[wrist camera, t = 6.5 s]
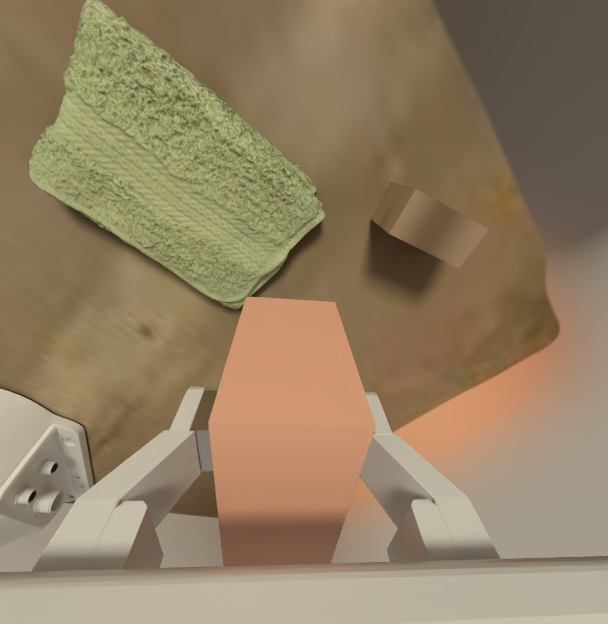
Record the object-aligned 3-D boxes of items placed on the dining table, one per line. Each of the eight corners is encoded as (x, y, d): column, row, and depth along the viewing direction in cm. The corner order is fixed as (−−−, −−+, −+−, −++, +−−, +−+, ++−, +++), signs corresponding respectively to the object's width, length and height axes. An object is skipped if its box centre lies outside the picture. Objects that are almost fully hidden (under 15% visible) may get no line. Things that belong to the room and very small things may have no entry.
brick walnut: (451, 215, 23) (489, 229, 18) (428, 248, 24) (459, 268, 19) (390, 182, 21) (415, 188, 17) (370, 218, 22) (389, 233, 18)
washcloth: (241, 309, 27) (235, 327, 24) (44, 178, 20) (4, 182, 18) (334, 198, 22) (340, 205, 19) (114, -13, 16) (75, -50, 13)
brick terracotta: (314, 420, 12) (329, 564, 8) (247, 419, 12) (224, 568, 8) (334, 302, 9) (375, 425, 5) (246, 296, 9) (208, 422, 5)
